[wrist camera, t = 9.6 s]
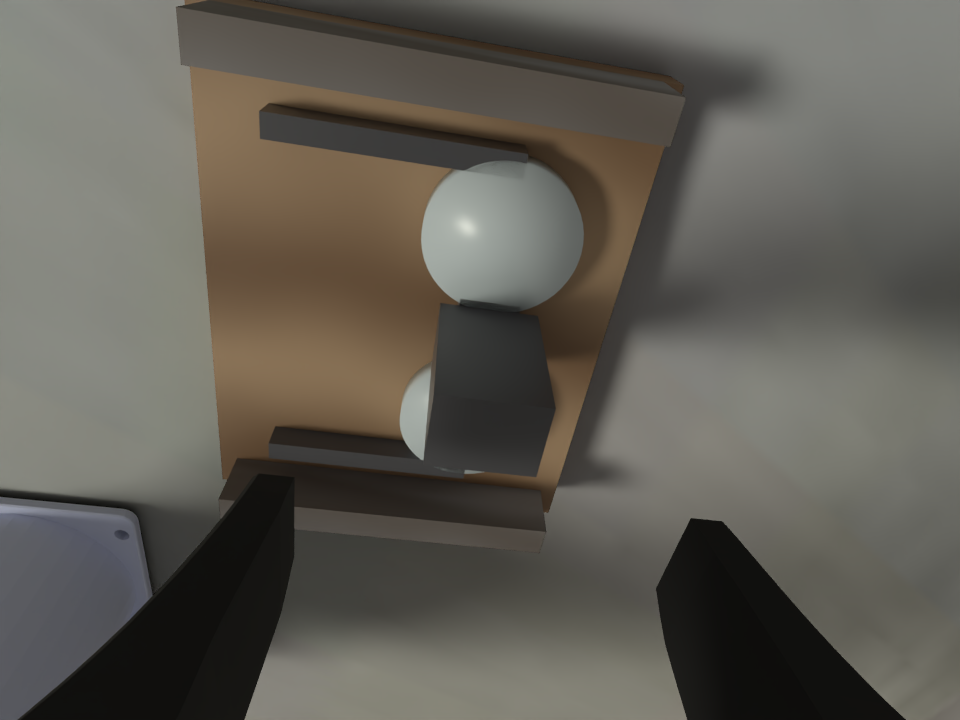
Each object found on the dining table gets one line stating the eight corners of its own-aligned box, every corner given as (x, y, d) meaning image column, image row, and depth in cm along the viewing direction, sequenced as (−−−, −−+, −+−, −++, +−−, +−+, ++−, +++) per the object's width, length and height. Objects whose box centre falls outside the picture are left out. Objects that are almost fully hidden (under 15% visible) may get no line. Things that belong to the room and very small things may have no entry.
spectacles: (517, 467, 21) (530, 592, 17) (275, 441, 20) (227, 565, 16) (598, 157, 15) (645, 232, 11) (268, 103, 14) (192, 164, 10)
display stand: (544, 487, 23) (554, 554, 20) (233, 454, 22) (203, 520, 19) (669, 76, 15) (709, 101, 13) (204, -8, 14) (147, 2, 12)
